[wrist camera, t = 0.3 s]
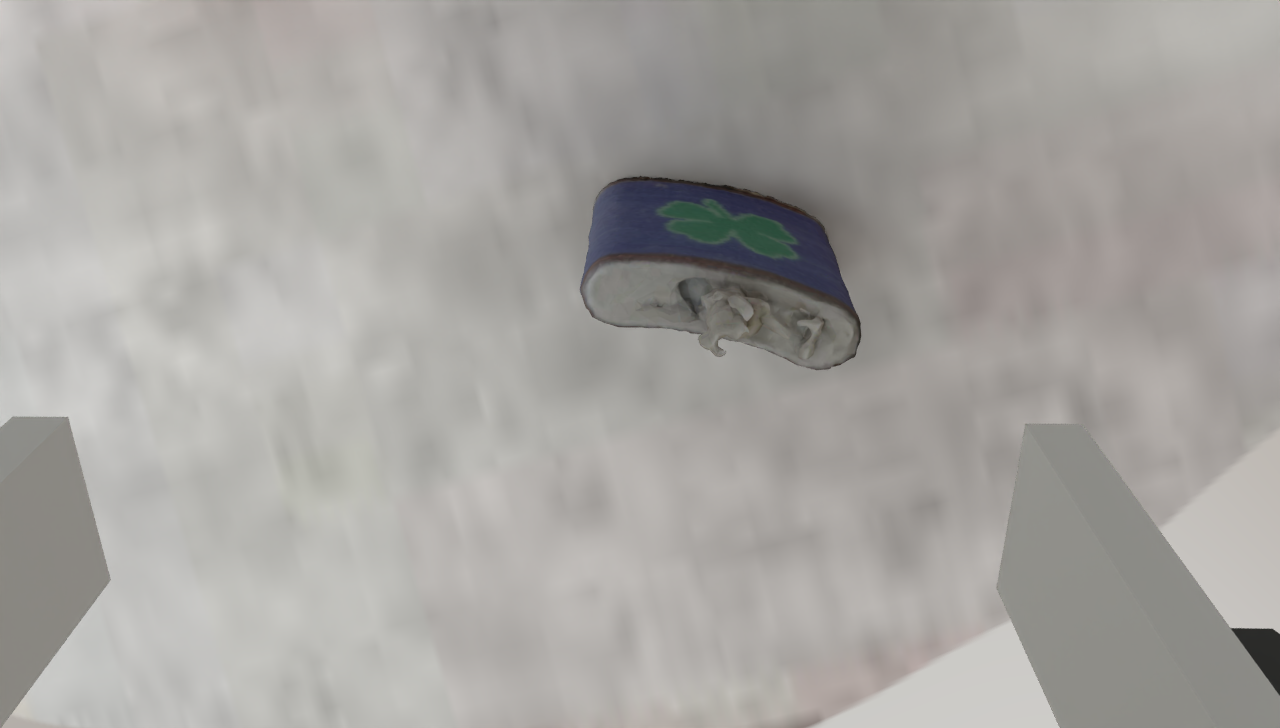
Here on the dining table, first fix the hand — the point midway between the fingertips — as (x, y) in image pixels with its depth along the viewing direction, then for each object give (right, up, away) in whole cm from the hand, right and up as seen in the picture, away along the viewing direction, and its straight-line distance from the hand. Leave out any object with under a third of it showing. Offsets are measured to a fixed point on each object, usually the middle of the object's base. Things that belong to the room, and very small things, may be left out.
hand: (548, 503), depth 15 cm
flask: (+4, +8, +27) cm, 28 cm away
